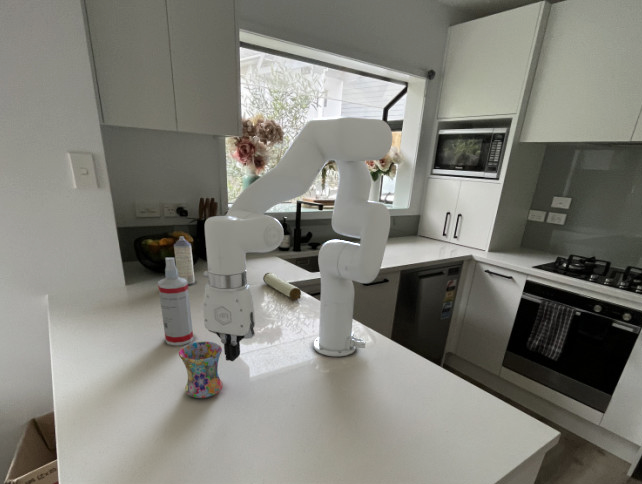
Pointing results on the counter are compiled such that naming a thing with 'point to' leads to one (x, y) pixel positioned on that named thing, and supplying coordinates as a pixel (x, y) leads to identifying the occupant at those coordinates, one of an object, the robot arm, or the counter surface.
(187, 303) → the spray bottle
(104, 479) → the counter surface
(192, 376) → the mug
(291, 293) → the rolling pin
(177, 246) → the aerosol can
